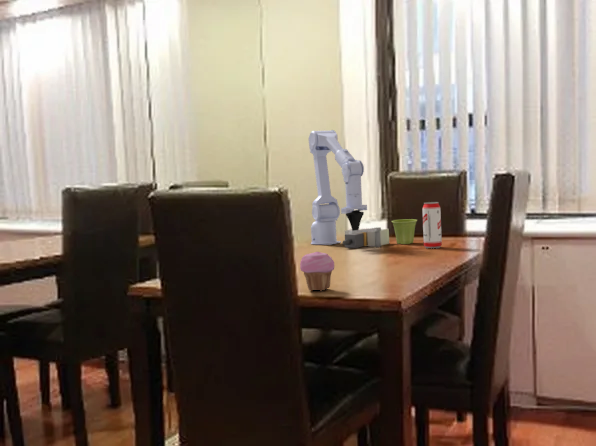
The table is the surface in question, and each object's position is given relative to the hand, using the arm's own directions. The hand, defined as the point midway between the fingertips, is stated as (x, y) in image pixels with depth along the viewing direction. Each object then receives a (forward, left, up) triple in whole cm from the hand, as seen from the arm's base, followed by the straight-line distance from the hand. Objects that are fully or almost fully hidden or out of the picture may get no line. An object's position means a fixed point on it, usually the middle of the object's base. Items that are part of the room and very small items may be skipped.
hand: (355, 231), depth 270 cm
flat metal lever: (+3, +2, 0) cm, 4 cm away
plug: (-3, +5, -6) cm, 8 cm away
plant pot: (+10, +19, -7) cm, 22 cm away
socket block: (-2, +12, -6) cm, 13 cm away
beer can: (+26, +10, -7) cm, 28 cm away
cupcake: (+36, -74, -7) cm, 83 cm away
